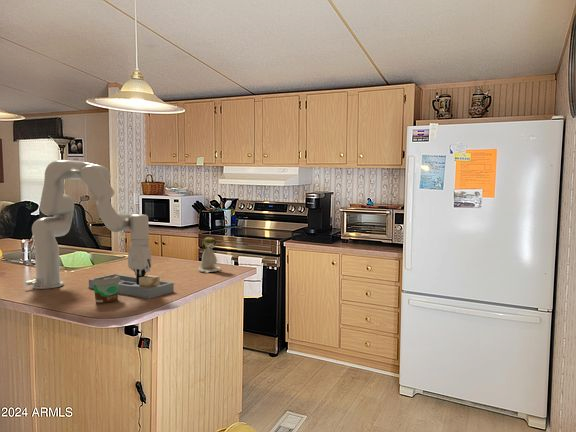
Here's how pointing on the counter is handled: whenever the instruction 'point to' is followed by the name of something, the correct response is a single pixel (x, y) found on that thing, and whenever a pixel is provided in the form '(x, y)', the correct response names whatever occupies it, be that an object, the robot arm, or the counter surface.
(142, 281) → the maple block
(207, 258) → the grey figurine
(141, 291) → the tray
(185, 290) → the counter surface
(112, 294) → the food container
